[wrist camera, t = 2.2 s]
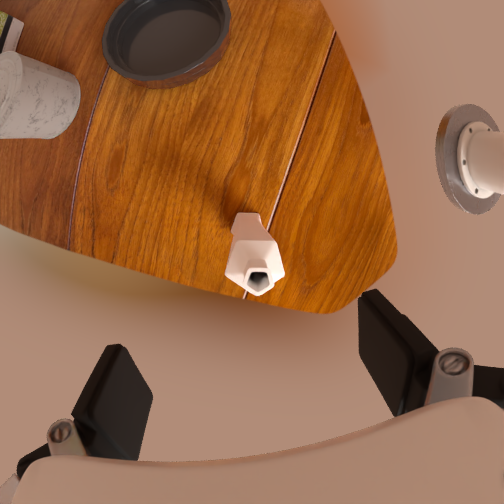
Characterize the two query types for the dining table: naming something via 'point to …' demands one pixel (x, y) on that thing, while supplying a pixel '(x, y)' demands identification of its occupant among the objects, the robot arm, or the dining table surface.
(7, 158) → the dining table surface
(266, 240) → the white faceted vase
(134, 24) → the bowl
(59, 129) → the marbled tin can
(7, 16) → the tea box
